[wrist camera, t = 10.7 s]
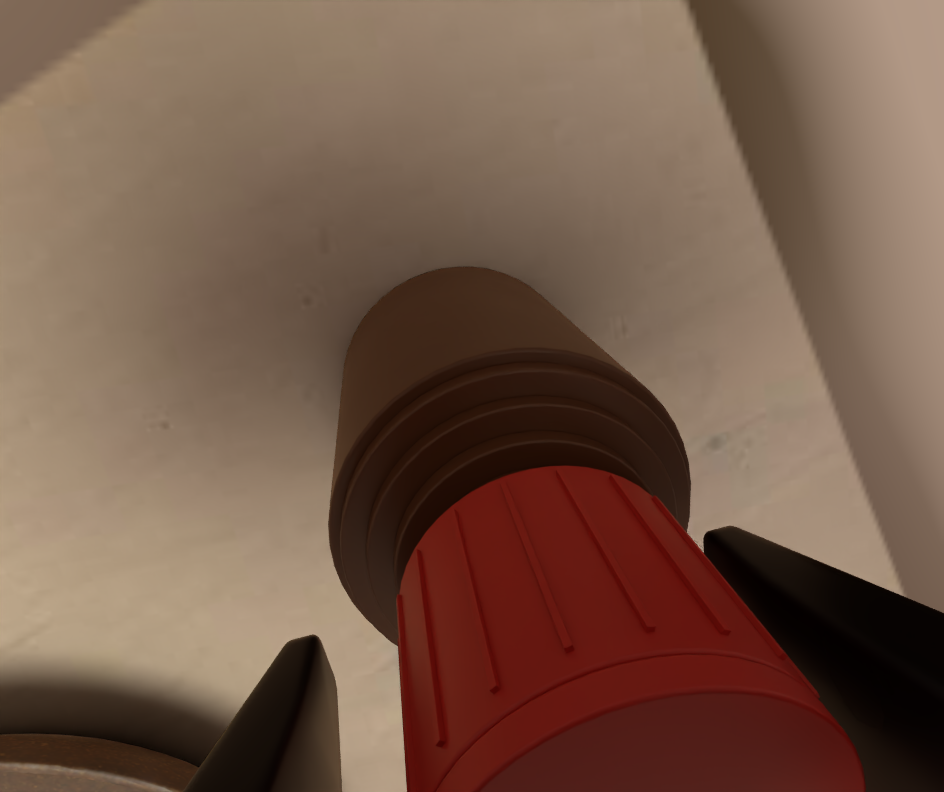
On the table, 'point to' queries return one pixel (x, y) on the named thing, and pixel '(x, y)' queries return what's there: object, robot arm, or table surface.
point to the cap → (595, 654)
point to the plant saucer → (86, 766)
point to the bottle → (475, 419)
